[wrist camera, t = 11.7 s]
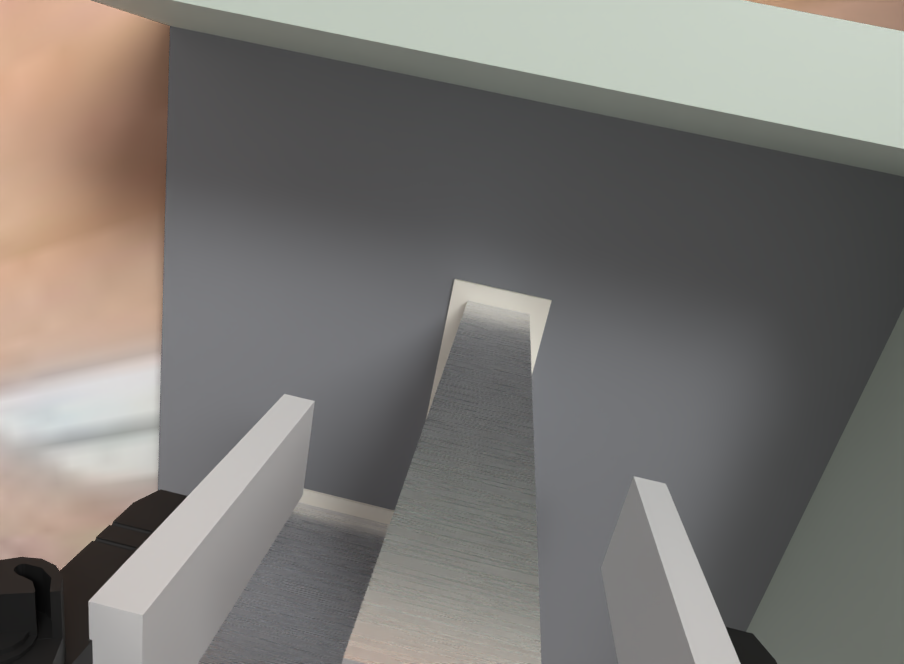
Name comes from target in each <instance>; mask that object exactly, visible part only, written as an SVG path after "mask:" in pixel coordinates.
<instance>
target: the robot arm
mask: <svg viewBox="0 0 904 664" xmlns="http://www.w3.org/2000/svg"><path fill="white" fill-rule="evenodd" d="M314 403H315V401H313V400H308V399H304V398H300V397H296V396H291V395H287V394H284V395H283V396H282V397H281V398H280V399H279V400H278V401H277V402H276V403H275V404H274V405H273V407H272V408H271V409H270V410H269V411H268V412H267V413H266V414H265V415H264V416H263V417H262V418H261V419H260V420H259V421H258V422H257V423H256V424H255V426H254V427H253V428H252V429H251V430H250V431H249V432H248V433H247V434H246V435H245V436H244V437H243V438H242V439H241V440H240V441H239V442H238V444H237V445H236V446H235V447H234V448H233V449H232V450H231V451H230V452H229V453H228V454H227V455H226V456H225V457H224V458H223V459H222V460H221V462H220V463H219V464H218V465H217V466H216V467H215V468H214V469H213V470H212V471H211V472H210V473H209V474H208V475H207V476H206V477H205V478H204V479H203V481H202V482H201V483H200V484H199V485H198V486H197V487H196V488H195V489H194V490H193V491H192V492H191V493H190V494H189V495H188V496H186V495H182V494H178V493H174V492H170V491H166V490H161V489H160V490H158V491H156V492H154V493H152V494H150V495H148V496H146V497H144V498H142V499H140V500H138V501H136V502H134V503H133V504H132V505H130V506H129V507H128V508H127V509H126V510H125V511H124V512H123V513H122V514H121V515H120V516H119V517H118V518H116V519H115V520H114V521H113V524H112V525H109V526H108V527H107V528H106V529H105V530H104V531H102V532H101V533H100V534H99V535H98V536H97V537H96V540H95V541H92V542H91V543H89V544H88V545H87V546H86V547H85V548H84V549H83V550H82V551H81V552H80V553H79V554H78V555H77V556H75V557H74V558H73V559H72V560H71V561H70V562H69V563H68V564H67V565H66V566H65V567H64V568H63V569H61V570H60V571H59V570H58V568H57V567H56V565H53V564H51V563H49V562H47V561H45V560H43V559H38V558H27V557H18V558H12V559H5V560H0V664H198V662H199V661H200V659H201V658H202V656H203V654H204V653H205V651H206V650H207V648H208V646H209V645H210V643H211V642H212V640H213V638H214V637H215V635H216V634H217V632H218V630H219V629H220V627H221V626H222V624H223V622H224V621H225V619H226V618H227V616H228V614H229V613H230V611H231V610H232V608H233V606H234V605H235V603H236V602H237V600H238V598H239V597H240V595H241V594H242V592H243V590H244V589H245V587H246V585H247V584H248V582H249V581H250V579H251V577H252V576H253V574H254V573H255V571H256V569H257V568H258V566H259V565H260V563H261V561H262V560H263V558H264V557H265V555H266V553H267V552H268V550H269V549H270V547H271V545H272V544H273V542H274V541H275V539H276V537H277V536H278V534H279V533H280V531H281V529H282V528H283V526H284V525H285V523H286V521H287V520H288V518H289V517H290V515H291V513H292V512H293V510H294V508H295V507H296V505H297V504H298V502H299V500H300V499H301V497H302V496H303V489H304V482H305V474H306V466H307V458H308V450H309V443H310V435H311V427H312V419H313V411H314ZM601 571H602V577H603V582H604V588H605V593H606V599H607V604H608V610H609V615H610V621H611V626H612V632H613V637H614V643H615V648H616V654H617V659H618V664H777V662H776V660H775V659H774V658H773V657H772V655H771V654H770V653H769V652H768V651H767V650H766V648H765V647H764V646H763V645H762V644H761V642H760V641H759V640H758V639H757V638H756V637H755V635H754V634H753V633H749V632H745V631H741V630H737V629H733V628H729V627H725V625H724V622H723V620H722V618H721V615H720V613H719V610H718V608H717V606H716V603H715V601H714V598H713V596H712V594H711V591H710V589H709V586H708V584H707V581H706V579H705V577H704V574H703V572H702V569H701V567H700V565H699V562H698V560H697V557H696V555H695V553H694V550H693V548H692V545H691V543H690V541H689V538H688V536H687V533H686V531H685V528H684V526H683V524H682V521H681V519H680V516H679V514H678V512H677V509H676V507H675V504H674V502H673V500H672V497H671V495H670V492H669V490H668V488H667V485H666V484H665V483H661V482H656V481H652V480H648V479H644V478H640V477H635V476H634V477H633V479H632V482H631V485H630V488H629V491H628V493H627V496H626V499H625V502H624V505H623V508H622V510H621V513H620V516H619V519H618V522H617V524H616V527H615V530H614V533H613V536H612V538H611V541H610V544H609V547H608V550H607V552H606V555H605V558H604V561H603V564H602V566H601Z"/></svg>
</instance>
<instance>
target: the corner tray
mask: <svg viewBox="0 0 904 664" xmlns="http://www.w3.org/2000/svg"><path fill="white" fill-rule="evenodd" d="M92 1H95V2H98V3H101V4H104V5H107V6H110V7H113V8H116V9H119V10H123V11H126V12H129V13H132V14H135V15H138V16H141V17H144V18H147V19H150V20H153V21H156V22H159V23H162V24H166V25H169V26H170V46H169V85H168V124H167V162H166V201H165V240H164V278H163V317H162V355H161V394H160V433H159V471H158V490H160V489H161V490H166V491H170V492H174V493H178V494H182V495H186V496H188V495H189V494H190V493H191V492H192V491H193V490H194V489H195V488H196V487H197V486H198V485H199V484H200V483H201V482H202V481H203V479H204V478H205V477H206V476H207V475H208V474H209V473H210V472H211V471H212V470H213V469H214V468H215V467H216V466H217V465H218V464H219V463H220V462H221V460H222V459H223V458H224V457H225V456H226V455H227V454H228V453H229V452H230V451H231V450H232V449H233V448H234V447H235V446H236V445H237V444H238V442H239V441H240V440H241V439H242V438H243V437H244V436H245V435H246V434H247V433H248V432H249V431H250V430H251V429H252V428H253V427H254V426H255V424H256V423H257V422H258V421H259V420H260V419H261V418H262V417H263V416H264V415H265V414H266V413H267V412H268V411H269V410H270V409H271V408H272V407H273V405H274V404H275V403H276V402H277V401H278V400H279V399H280V398H281V397H282V396H283V395H284V394H287V395H291V396H296V397H300V398H304V399H308V400H313V401H315V403H314V411H313V419H312V427H311V435H310V443H309V450H308V458H307V466H306V474H305V482H304V489H303V496H302V497H301V499H300V500H299V502H300V503H304V504H308V505H312V506H316V507H320V508H324V509H328V510H332V511H336V512H340V513H345V514H349V515H353V516H357V517H361V518H365V519H369V520H373V521H377V522H381V523H385V524H389V525H390V522H391V519H392V516H393V513H394V510H395V508H396V505H397V502H398V499H399V496H400V493H401V490H402V488H403V485H404V482H405V479H406V476H407V473H408V470H409V468H410V465H411V462H412V459H413V456H414V453H415V450H416V448H417V445H418V442H419V439H420V436H421V433H422V430H423V427H424V425H425V422H426V419H427V416H428V413H429V410H430V407H431V405H432V402H433V399H434V396H435V393H436V390H437V387H438V385H439V382H440V379H441V376H442V373H443V370H444V367H445V365H446V362H447V359H448V356H449V353H450V350H451V347H452V344H453V342H454V339H455V336H456V333H457V330H458V327H459V324H460V322H461V319H462V316H463V313H464V310H465V307H466V304H467V302H468V301H472V302H477V303H481V304H486V305H490V306H495V307H499V308H503V309H508V310H512V311H517V312H521V313H526V314H530V342H531V372H532V401H533V430H534V460H535V489H536V518H537V547H538V577H539V606H540V635H541V664H618V659H617V654H616V648H615V643H614V637H613V632H612V626H611V621H610V615H609V610H608V604H607V599H606V593H605V588H604V582H603V577H602V571H601V566H602V564H603V561H604V558H605V555H606V552H607V550H608V547H609V544H610V541H611V538H612V536H613V533H614V530H615V527H616V524H617V522H618V519H619V516H620V513H621V510H622V508H623V505H624V502H625V499H626V496H627V493H628V491H629V488H630V485H631V482H632V479H633V477H634V476H635V477H640V478H644V479H648V480H652V481H656V482H661V483H665V484H666V485H667V488H668V490H669V492H670V495H671V497H672V500H673V502H674V504H675V507H676V509H677V512H678V514H679V516H680V519H681V521H682V524H683V526H684V528H685V531H686V533H687V536H688V538H689V541H690V543H691V545H692V548H693V550H694V553H695V555H696V557H697V560H698V562H699V565H700V567H701V569H702V572H703V574H704V577H705V579H706V581H707V584H708V586H709V589H710V591H711V594H712V596H713V598H714V601H715V603H716V606H717V608H718V610H719V613H720V615H721V618H722V620H723V622H724V625H725V627H729V628H733V629H737V630H741V631H745V632H749V633H753V634H754V635H755V637H756V638H757V639H758V640H759V641H760V642H761V644H762V645H763V646H764V647H765V648H766V650H767V651H768V652H769V653H770V654H771V655H772V657H773V658H774V659H775V660H776V662H777V664H904V31H899V30H894V29H889V28H884V27H879V26H874V25H868V24H863V23H858V22H853V21H848V20H842V19H837V18H832V17H827V16H822V15H817V14H811V13H806V12H801V11H796V10H791V9H785V8H780V7H775V6H770V5H765V4H760V3H754V2H749V1H744V0H92Z"/></svg>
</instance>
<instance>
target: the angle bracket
mask: <svg viewBox="0 0 904 664" xmlns="http://www.w3.org/2000/svg"><path fill="white" fill-rule="evenodd" d="M198 664H541V635H540V606H539V577H538V547H537V518H536V489H535V460H534V430H533V401H532V372H531V342H530V314H526V313H521V312H517V311H512V310H508V309H503V308H499V307H495V306H490V305H486V304H481V303H477V302H472V301H468V302H467V304H466V307H465V310H464V313H463V316H462V319H461V322H460V324H459V327H458V330H457V333H456V336H455V339H454V342H453V344H452V347H451V350H450V353H449V356H448V359H447V362H446V365H445V367H444V370H443V373H442V376H441V379H440V382H439V385H438V387H437V390H436V393H435V396H434V399H433V402H432V405H431V407H430V410H429V413H428V416H427V419H426V422H425V425H424V427H423V430H422V433H421V436H420V439H419V442H418V445H417V448H416V450H415V453H414V456H413V459H412V462H411V465H410V468H409V470H408V473H407V476H406V479H405V482H404V485H403V488H402V490H401V493H400V496H399V499H398V502H397V505H396V508H395V510H394V513H393V516H392V519H391V522H390V525H389V524H385V523H381V522H377V521H373V520H369V519H365V518H361V517H357V516H353V515H349V514H345V513H340V512H336V511H332V510H328V509H324V508H320V507H316V506H312V505H308V504H304V503H300V502H298V504H297V505H296V507H295V508H294V510H293V512H292V513H291V515H290V517H289V518H288V520H287V521H286V523H285V525H284V526H283V528H282V529H281V531H280V533H279V534H278V536H277V537H276V539H275V541H274V542H273V544H272V545H271V547H270V549H269V550H268V552H267V553H266V555H265V557H264V558H263V560H262V561H261V563H260V565H259V566H258V568H257V569H256V571H255V573H254V574H253V576H252V577H251V579H250V581H249V582H248V584H247V585H246V587H245V589H244V590H243V592H242V594H241V595H240V597H239V598H238V600H237V602H236V603H235V605H234V606H233V608H232V610H231V611H230V613H229V614H228V616H227V618H226V619H225V621H224V622H223V624H222V626H221V627H220V629H219V630H218V632H217V634H216V635H215V637H214V638H213V640H212V642H211V643H210V645H209V646H208V648H207V650H206V651H205V653H204V654H203V656H202V658H201V659H200V661H199V662H198Z"/></svg>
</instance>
